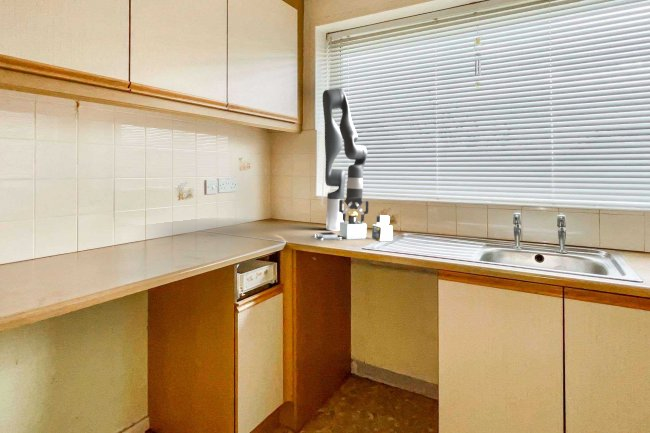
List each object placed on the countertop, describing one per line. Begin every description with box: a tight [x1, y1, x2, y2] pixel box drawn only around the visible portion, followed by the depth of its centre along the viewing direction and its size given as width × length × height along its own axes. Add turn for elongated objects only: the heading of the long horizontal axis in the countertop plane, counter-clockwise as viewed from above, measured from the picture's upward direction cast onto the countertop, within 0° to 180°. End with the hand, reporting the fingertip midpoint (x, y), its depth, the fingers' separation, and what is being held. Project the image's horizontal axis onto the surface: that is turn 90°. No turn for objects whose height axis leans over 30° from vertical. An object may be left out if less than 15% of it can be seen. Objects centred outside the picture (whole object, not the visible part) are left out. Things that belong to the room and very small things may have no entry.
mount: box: [311, 231, 345, 242], centre depth 178 cm, size 12×12×3 cm
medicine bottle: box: [371, 214, 394, 242], centre depth 184 cm, size 7×7×12 cm
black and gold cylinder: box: [347, 211, 359, 224], centre depth 182 cm, size 5×5×13 cm
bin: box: [338, 221, 368, 240], centre depth 182 cm, size 9×10×8 cm
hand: (353, 221), depth 182 cm, fingers open, 7 cm apart
